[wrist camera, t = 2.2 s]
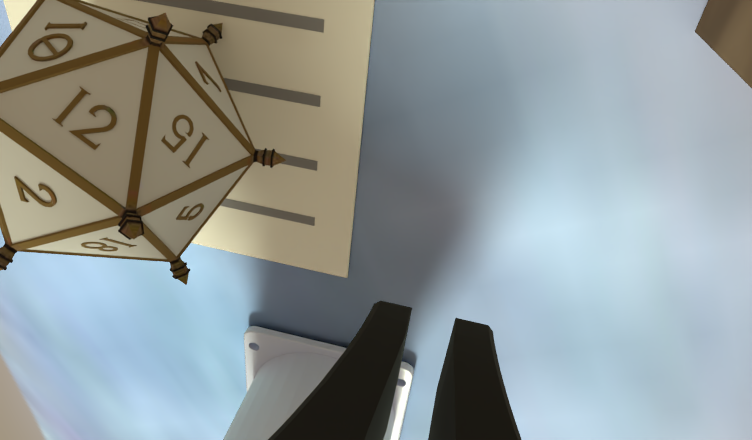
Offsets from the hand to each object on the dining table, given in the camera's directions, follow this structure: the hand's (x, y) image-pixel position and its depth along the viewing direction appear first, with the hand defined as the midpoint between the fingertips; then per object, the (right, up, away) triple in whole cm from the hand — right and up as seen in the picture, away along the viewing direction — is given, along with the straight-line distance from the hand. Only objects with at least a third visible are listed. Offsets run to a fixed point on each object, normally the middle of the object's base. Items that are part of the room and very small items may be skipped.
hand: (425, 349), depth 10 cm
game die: (-8, +7, +9) cm, 14 cm away
